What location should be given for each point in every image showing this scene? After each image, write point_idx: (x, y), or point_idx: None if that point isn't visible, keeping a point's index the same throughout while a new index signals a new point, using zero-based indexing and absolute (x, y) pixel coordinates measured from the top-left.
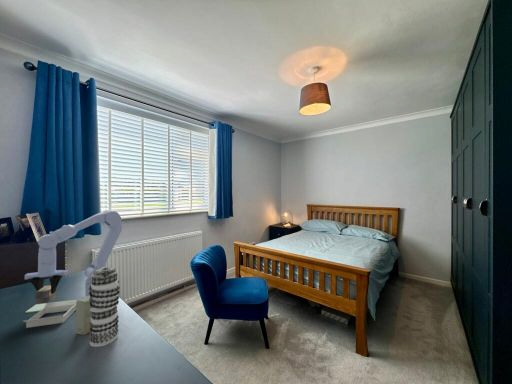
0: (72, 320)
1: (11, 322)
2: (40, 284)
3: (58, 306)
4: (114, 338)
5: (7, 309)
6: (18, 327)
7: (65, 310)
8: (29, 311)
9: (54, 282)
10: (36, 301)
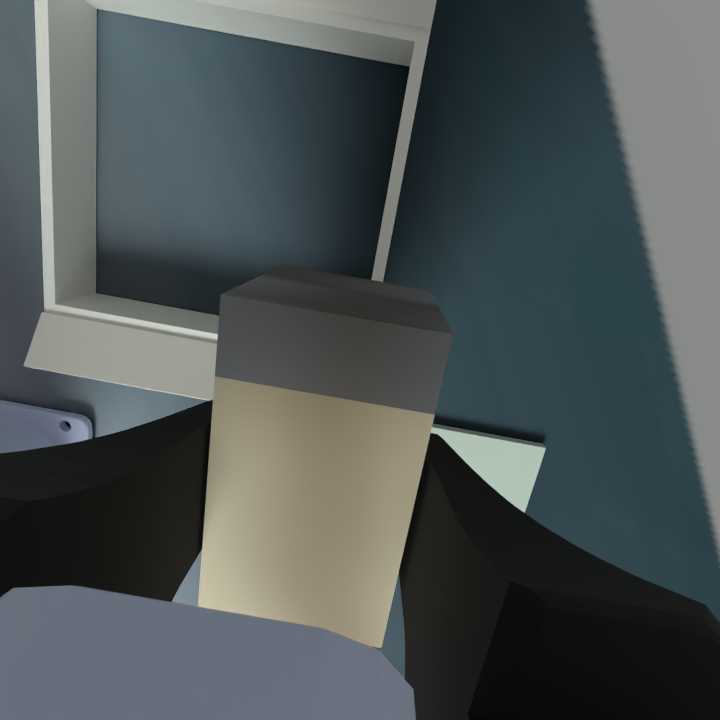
0: (7, 6)
1: (602, 280)
2: (430, 598)
3: None
4: None
5: (709, 596)
6: (503, 112)
7: (180, 310)
8: (510, 443)
9: (12, 459)
10: (413, 291)
